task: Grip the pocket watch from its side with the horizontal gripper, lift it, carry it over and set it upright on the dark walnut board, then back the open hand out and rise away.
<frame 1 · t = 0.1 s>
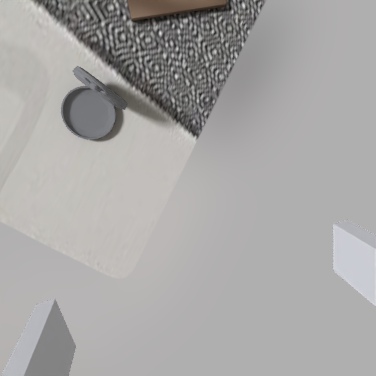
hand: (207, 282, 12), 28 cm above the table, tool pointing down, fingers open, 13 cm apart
pocket watch: (96, 106, 35), on the table
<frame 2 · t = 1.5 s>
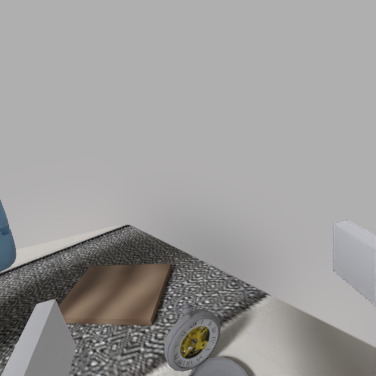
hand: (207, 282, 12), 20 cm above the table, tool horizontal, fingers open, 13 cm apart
walnut board: (116, 293, 43), on the table
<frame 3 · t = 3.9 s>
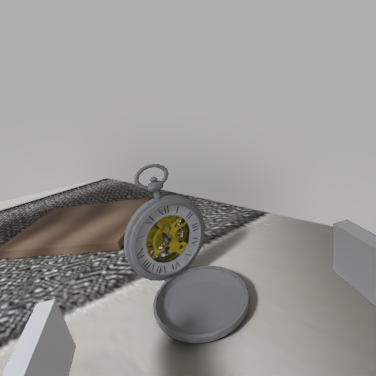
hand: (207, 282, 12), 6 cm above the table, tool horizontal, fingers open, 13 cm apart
pocket watch: (195, 298, 20), on the table
walnut board: (82, 228, 35), on the table
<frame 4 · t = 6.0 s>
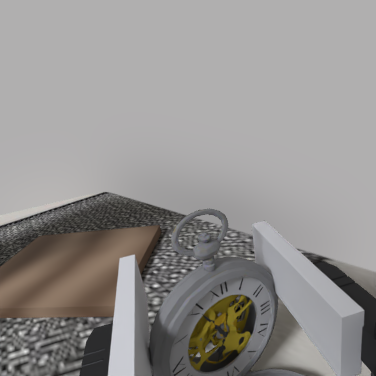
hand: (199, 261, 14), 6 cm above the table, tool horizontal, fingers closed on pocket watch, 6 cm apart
walnut board: (71, 269, 27), on the table
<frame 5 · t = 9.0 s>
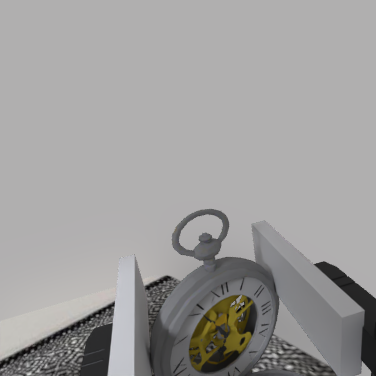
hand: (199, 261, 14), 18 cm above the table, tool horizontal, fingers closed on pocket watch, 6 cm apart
when the fingers open (8 cm above the table, at t = 11.6 s): pocket watch drops 1 cm, resting on walnut board.
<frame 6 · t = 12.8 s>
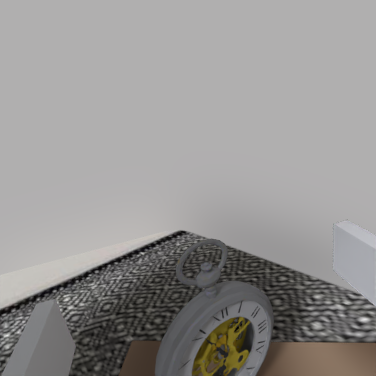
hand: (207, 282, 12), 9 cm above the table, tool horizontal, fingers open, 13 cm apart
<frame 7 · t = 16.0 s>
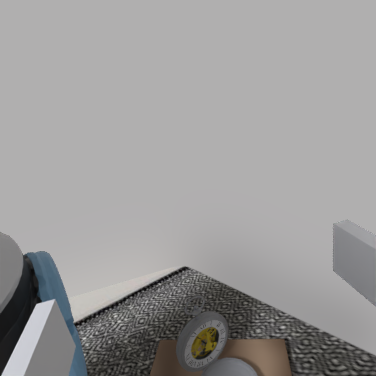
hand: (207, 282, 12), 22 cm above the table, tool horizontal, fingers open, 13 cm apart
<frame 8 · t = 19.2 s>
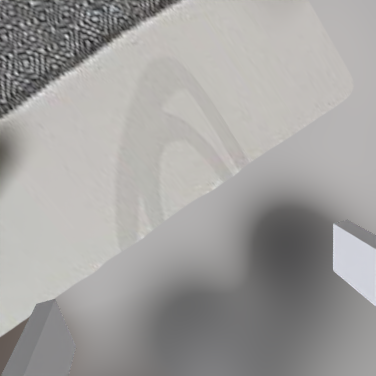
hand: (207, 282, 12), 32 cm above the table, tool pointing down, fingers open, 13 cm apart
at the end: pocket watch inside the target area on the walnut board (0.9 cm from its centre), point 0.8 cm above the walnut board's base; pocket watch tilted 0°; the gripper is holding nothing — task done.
